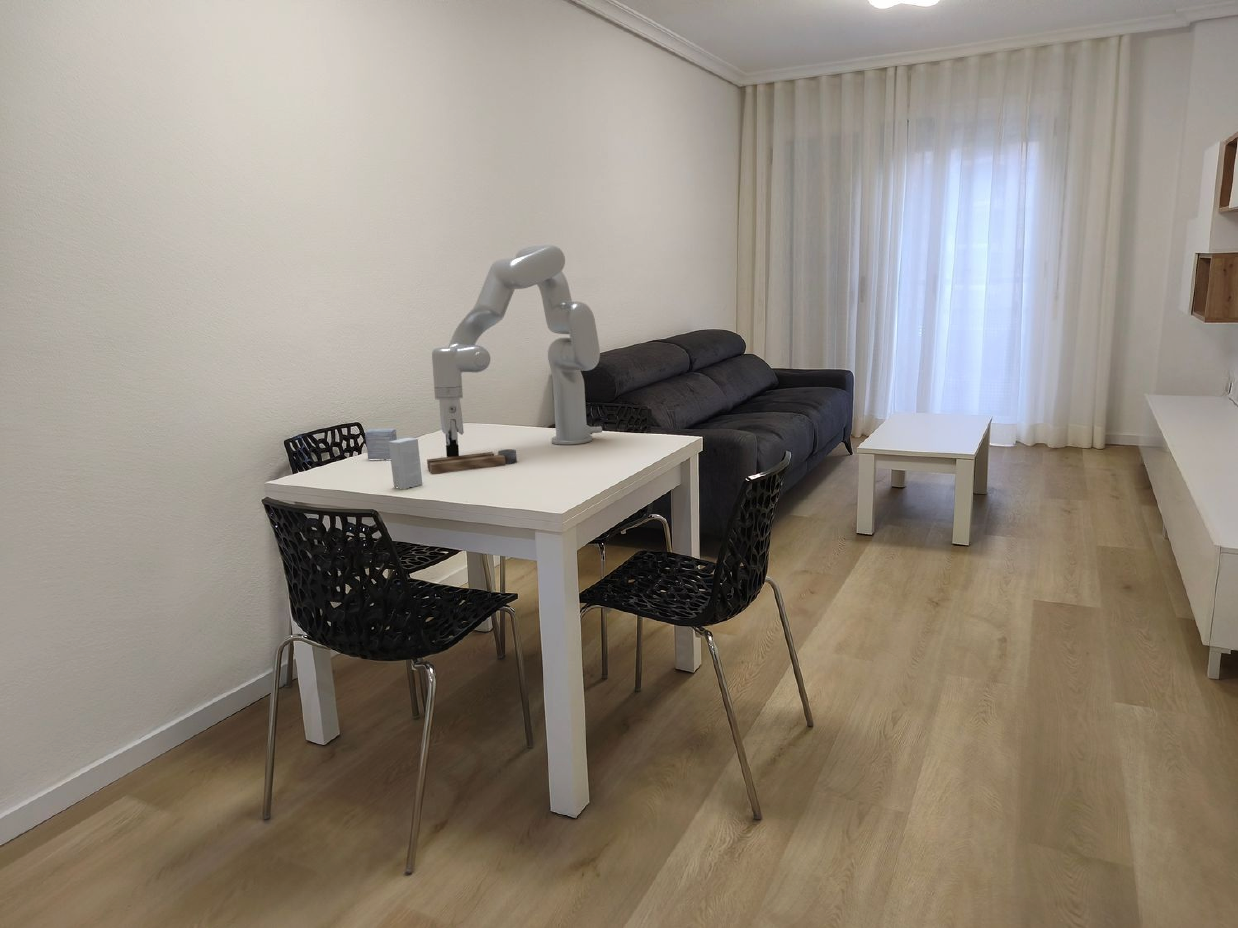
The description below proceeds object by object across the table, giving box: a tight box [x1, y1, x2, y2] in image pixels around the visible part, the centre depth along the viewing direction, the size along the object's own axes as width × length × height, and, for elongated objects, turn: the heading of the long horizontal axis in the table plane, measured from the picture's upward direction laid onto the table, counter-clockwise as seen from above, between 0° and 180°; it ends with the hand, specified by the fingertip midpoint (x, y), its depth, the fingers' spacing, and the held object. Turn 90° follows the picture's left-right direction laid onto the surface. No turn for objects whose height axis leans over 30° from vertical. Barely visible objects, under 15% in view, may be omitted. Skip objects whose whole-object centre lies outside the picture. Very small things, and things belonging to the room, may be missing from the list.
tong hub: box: [429, 449, 518, 475], centre depth 241 cm, size 24×6×3 cm, turn 111°
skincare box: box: [389, 437, 423, 490], centre depth 220 cm, size 6×4×12 cm
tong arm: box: [426, 451, 495, 471], centre depth 242 cm, size 18×3×2 cm, turn 111°
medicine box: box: [364, 428, 398, 460], centre depth 258 cm, size 8×4×9 cm, turn 84°
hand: (453, 458), depth 244 cm, fingers closed
